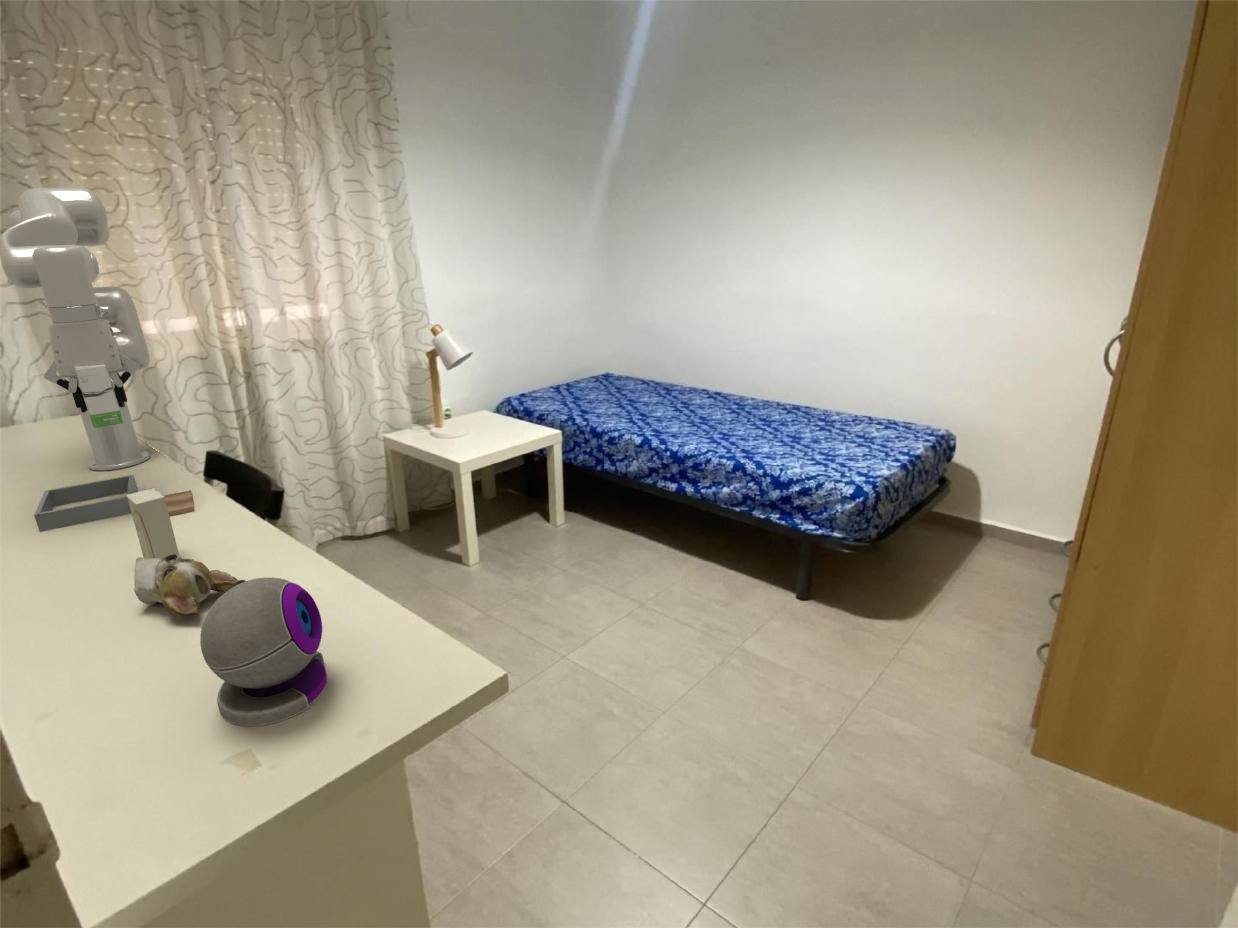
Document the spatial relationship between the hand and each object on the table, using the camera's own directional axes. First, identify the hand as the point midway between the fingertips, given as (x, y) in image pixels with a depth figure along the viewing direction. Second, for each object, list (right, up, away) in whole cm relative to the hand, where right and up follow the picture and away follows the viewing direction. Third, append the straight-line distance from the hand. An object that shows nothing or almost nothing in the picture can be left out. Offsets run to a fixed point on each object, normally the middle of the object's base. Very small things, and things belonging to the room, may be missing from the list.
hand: (103, 407), depth 134 cm
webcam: (+59, -40, -49) cm, 87 cm away
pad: (+8, -20, +7) cm, 23 cm away
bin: (-8, -21, +8) cm, 23 cm away
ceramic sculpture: (+35, -33, -29) cm, 56 cm away
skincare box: (+22, -28, -15) cm, 38 cm away
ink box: (0, -3, +1) cm, 3 cm away
